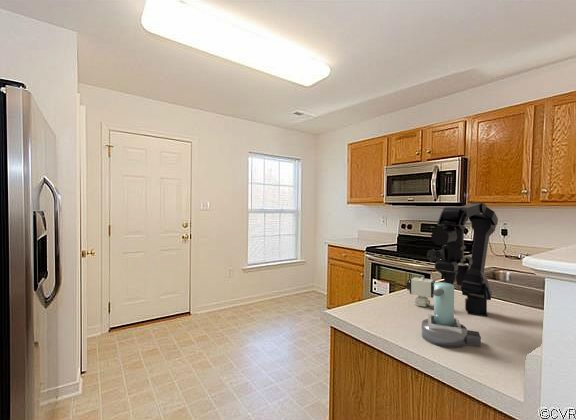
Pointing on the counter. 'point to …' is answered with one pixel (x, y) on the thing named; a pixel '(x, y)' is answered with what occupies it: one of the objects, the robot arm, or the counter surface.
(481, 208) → the robot arm
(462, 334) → the grey socket base
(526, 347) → the counter surface
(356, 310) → the counter surface
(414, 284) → the pneumatic valve
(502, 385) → the counter surface
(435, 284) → the cylinder
